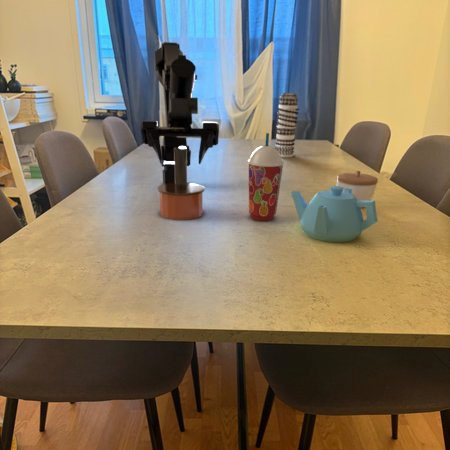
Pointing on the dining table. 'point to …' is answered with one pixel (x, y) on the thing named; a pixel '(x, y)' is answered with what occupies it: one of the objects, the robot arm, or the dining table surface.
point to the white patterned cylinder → (286, 124)
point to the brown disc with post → (180, 177)
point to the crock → (181, 206)
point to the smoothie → (264, 182)
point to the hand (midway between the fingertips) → (180, 162)
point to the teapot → (334, 215)
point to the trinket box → (358, 184)
